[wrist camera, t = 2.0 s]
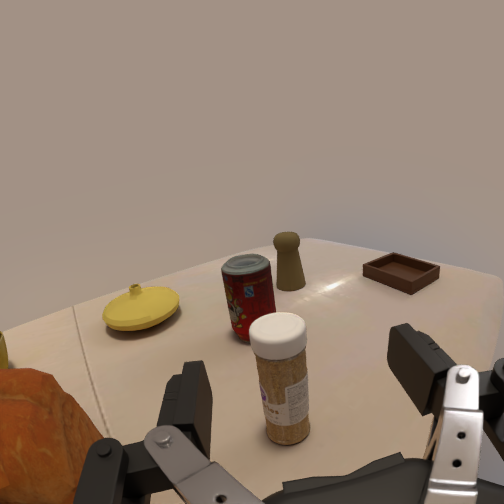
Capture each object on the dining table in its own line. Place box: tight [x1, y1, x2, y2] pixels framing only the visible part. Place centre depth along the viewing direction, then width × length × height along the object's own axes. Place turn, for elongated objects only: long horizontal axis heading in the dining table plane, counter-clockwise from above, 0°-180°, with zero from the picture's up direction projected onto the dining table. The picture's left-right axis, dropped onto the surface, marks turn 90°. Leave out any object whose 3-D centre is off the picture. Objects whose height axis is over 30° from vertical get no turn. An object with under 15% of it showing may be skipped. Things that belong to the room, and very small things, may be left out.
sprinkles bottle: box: [249, 312, 310, 445], centre depth 26 cm, size 5×5×14 cm
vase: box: [102, 284, 179, 331], centre depth 56 cm, size 16×16×7 cm
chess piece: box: [273, 232, 306, 291], centre depth 62 cm, size 6×6×11 cm
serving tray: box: [363, 252, 440, 295], centre depth 58 cm, size 13×10×3 cm
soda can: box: [221, 254, 276, 343], centre depth 46 cm, size 7×7×12 cm
